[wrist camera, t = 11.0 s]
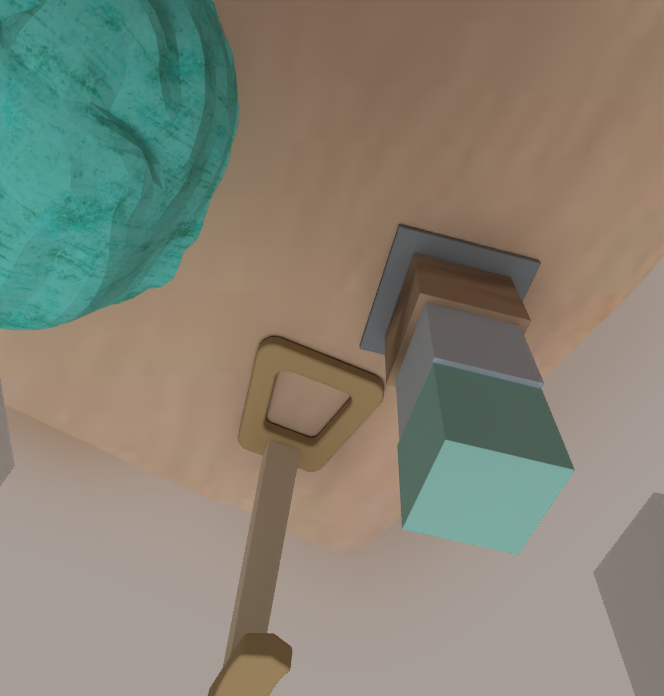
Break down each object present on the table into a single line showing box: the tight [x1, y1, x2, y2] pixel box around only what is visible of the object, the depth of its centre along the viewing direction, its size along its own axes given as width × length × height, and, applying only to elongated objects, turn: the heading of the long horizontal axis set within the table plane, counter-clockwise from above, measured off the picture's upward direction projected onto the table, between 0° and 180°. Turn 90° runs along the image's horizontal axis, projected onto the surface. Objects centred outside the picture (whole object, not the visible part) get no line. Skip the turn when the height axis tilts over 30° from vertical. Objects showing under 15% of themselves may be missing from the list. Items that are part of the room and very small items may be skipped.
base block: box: [385, 253, 531, 387], centre depth 40 cm, size 7×7×6 cm
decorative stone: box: [0, 0, 239, 330], centre depth 34 cm, size 21×27×10 cm
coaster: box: [360, 224, 541, 355], centre depth 42 cm, size 10×10×1 cm
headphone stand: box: [208, 337, 384, 696], centre depth 39 cm, size 10×11×22 cm
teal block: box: [398, 362, 574, 555], centre depth 30 cm, size 6×6×6 cm
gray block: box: [396, 302, 544, 440], centre depth 35 cm, size 6×6×6 cm
